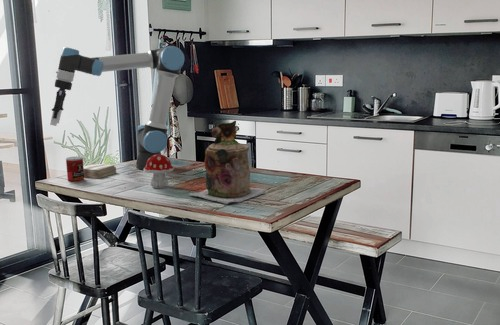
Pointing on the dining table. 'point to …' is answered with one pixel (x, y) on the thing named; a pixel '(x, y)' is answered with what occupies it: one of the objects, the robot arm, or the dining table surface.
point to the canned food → (75, 169)
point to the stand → (98, 170)
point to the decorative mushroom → (158, 170)
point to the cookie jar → (227, 168)
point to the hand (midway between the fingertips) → (54, 124)
